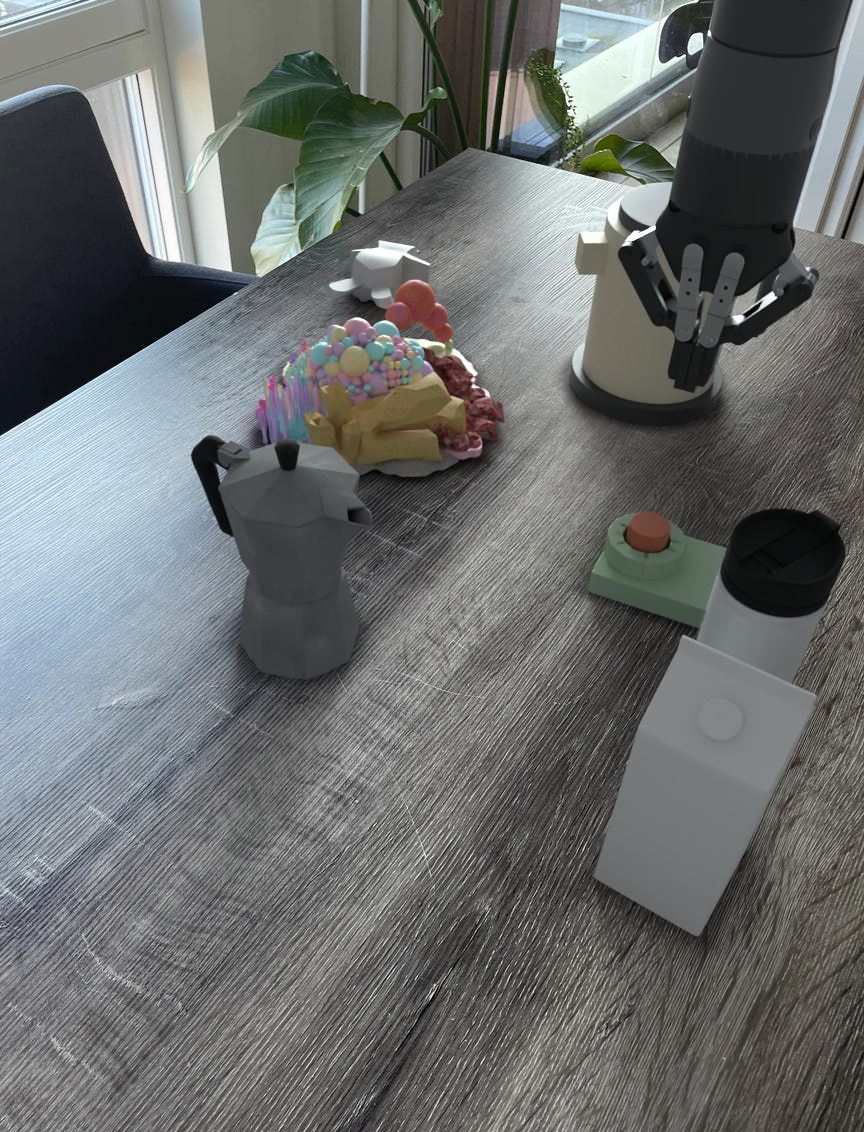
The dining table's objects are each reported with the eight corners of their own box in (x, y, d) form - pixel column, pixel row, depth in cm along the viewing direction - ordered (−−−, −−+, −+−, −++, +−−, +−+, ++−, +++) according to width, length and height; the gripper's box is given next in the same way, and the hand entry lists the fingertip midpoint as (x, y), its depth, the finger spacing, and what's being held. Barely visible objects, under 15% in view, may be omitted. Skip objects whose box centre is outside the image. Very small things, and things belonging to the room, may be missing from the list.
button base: (782, 587, 84) (797, 550, 81) (760, 650, 79) (775, 613, 76) (617, 535, 88) (625, 498, 86) (586, 592, 83) (594, 555, 81)
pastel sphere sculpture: (539, 460, 96) (552, 372, 89) (295, 513, 90) (289, 423, 83) (437, 330, 112) (442, 247, 105) (225, 367, 106) (216, 283, 100)
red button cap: (671, 535, 83) (675, 518, 82) (660, 559, 81) (664, 542, 80) (632, 523, 84) (636, 506, 83) (620, 546, 82) (624, 529, 81)
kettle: (771, 426, 100) (838, 225, 86) (571, 429, 99) (605, 227, 85) (725, 339, 111) (777, 149, 97) (545, 341, 111) (571, 150, 96)
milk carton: (641, 803, 69) (709, 597, 55) (742, 857, 66) (840, 654, 53) (592, 878, 65) (652, 676, 51) (697, 939, 62) (791, 743, 49)
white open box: (443, 240, 118) (399, 283, 107) (439, 284, 122) (396, 330, 110) (366, 226, 120) (315, 267, 109) (364, 270, 124) (315, 314, 113)
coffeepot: (405, 639, 79) (412, 444, 67) (330, 715, 74) (322, 519, 61) (252, 560, 86) (232, 368, 73) (173, 625, 80) (136, 430, 67)
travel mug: (775, 765, 71) (877, 545, 57) (708, 809, 69) (797, 590, 54) (707, 707, 75) (788, 486, 61) (642, 747, 72) (709, 526, 58)
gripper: (881, 122, 60) (793, 383, 72) (659, 85, 64) (612, 338, 76) (859, 168, 55) (770, 438, 68) (621, 125, 59) (578, 387, 72)
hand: (686, 385), depth 72 cm, fingers closed
